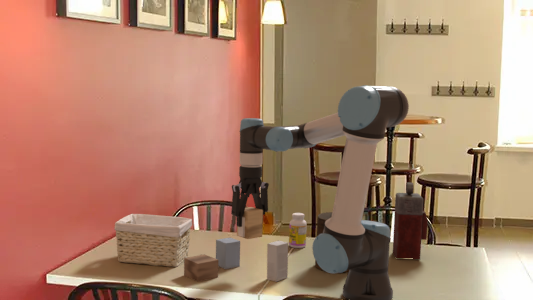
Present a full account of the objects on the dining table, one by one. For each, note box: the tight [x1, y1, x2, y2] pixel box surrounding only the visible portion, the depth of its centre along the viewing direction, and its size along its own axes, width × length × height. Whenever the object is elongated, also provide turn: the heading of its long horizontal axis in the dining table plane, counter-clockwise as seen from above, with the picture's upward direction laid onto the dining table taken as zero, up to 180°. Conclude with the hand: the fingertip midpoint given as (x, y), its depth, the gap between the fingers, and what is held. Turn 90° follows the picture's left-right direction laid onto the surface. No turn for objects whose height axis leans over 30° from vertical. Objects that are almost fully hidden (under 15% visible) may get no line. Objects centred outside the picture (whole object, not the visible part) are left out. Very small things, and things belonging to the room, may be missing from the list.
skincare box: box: [266, 240, 289, 282], centre depth 220 cm, size 6×4×12 cm
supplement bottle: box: [288, 212, 308, 249], centre depth 262 cm, size 7×7×13 cm
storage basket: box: [114, 213, 193, 268], centre depth 237 cm, size 24×16×15 cm
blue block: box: [215, 237, 241, 270], centre depth 233 cm, size 6×6×9 cm
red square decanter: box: [392, 182, 429, 260], centre depth 251 cm, size 9×11×28 cm
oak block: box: [236, 206, 264, 240], centre depth 223 cm, size 6×6×9 cm
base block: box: [183, 254, 219, 282], centre depth 221 cm, size 8×8×6 cm
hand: (249, 234), depth 223 cm, fingers closed on oak block, 6 cm apart
